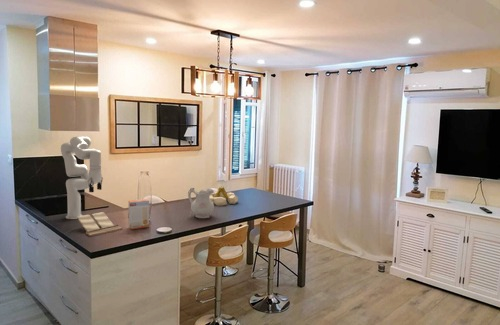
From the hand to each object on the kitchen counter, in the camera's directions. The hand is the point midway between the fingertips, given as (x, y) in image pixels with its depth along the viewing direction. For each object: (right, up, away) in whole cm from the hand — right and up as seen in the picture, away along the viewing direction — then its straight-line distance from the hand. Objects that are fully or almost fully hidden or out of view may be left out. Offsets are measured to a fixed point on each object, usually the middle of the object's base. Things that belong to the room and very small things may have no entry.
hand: (95, 190), depth 265 cm
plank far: (+2, -23, +9) cm, 25 cm away
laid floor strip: (+8, -29, -3) cm, 30 cm away
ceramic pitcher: (+70, -26, +47) cm, 88 cm away
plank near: (-5, -24, +1) cm, 25 cm away
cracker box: (+28, -29, +10) cm, 41 cm away
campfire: (+81, -19, +103) cm, 133 cm away
